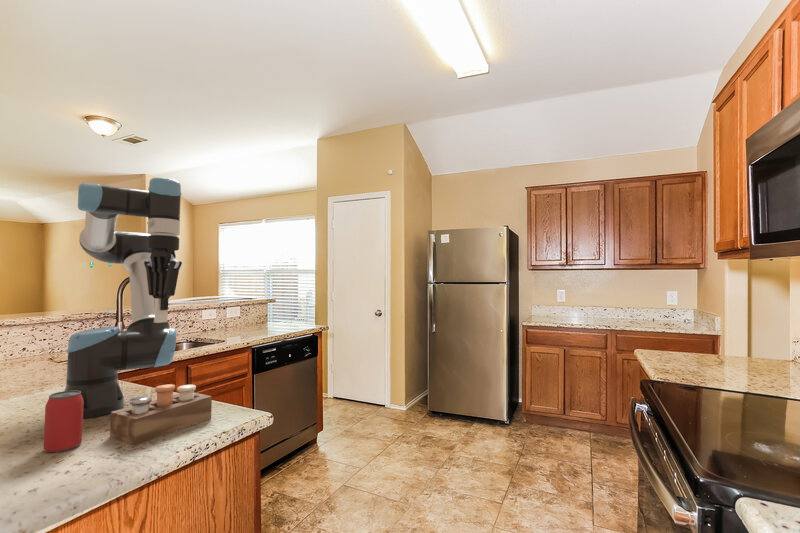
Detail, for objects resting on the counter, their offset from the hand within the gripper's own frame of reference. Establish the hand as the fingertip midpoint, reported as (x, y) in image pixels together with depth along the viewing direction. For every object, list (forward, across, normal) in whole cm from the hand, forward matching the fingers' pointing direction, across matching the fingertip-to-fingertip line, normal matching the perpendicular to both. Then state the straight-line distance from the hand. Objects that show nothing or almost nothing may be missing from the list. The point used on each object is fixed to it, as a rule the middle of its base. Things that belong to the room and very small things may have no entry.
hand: (160, 322), depth 106 cm
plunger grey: (+24, +6, -8) cm, 26 cm away
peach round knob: (+23, +6, -2) cm, 24 cm away
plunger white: (+24, +6, +4) cm, 25 cm away
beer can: (+27, -2, -20) cm, 33 cm away
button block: (+26, +6, -2) cm, 27 cm away
